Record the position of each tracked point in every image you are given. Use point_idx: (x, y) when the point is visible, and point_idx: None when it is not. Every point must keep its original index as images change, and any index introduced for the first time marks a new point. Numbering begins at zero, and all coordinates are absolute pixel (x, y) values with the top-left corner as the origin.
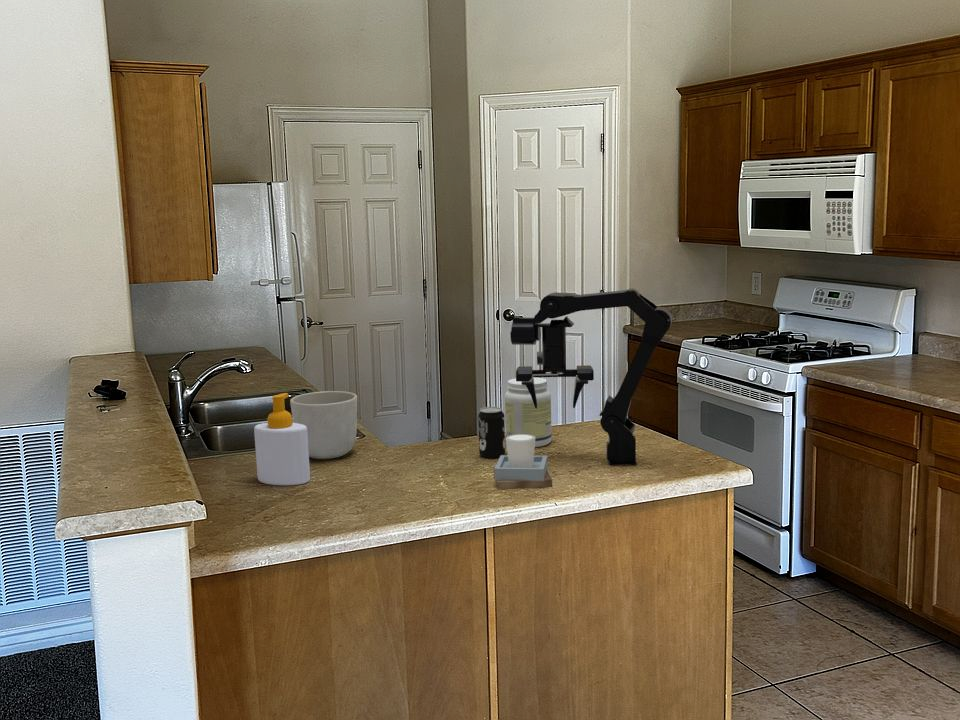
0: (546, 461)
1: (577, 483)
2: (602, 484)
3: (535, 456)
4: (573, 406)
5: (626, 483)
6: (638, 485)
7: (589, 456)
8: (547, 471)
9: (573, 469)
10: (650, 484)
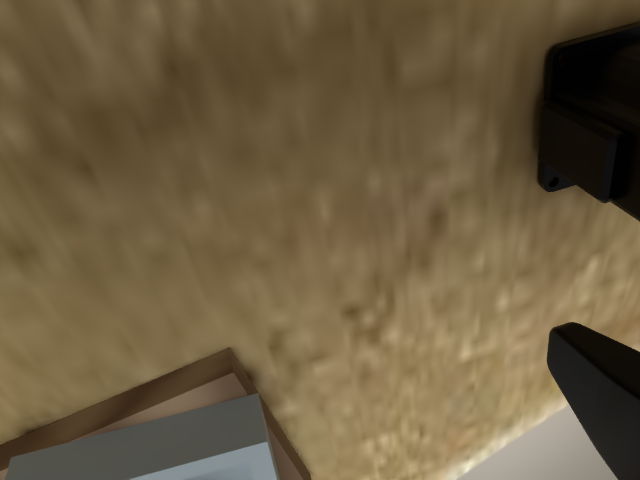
0: (274, 465)
1: (395, 421)
2: (482, 401)
3: (208, 470)
4: (564, 391)
5: None
6: None
7: (436, 14)
8: (275, 439)
9: (362, 284)
10: None
